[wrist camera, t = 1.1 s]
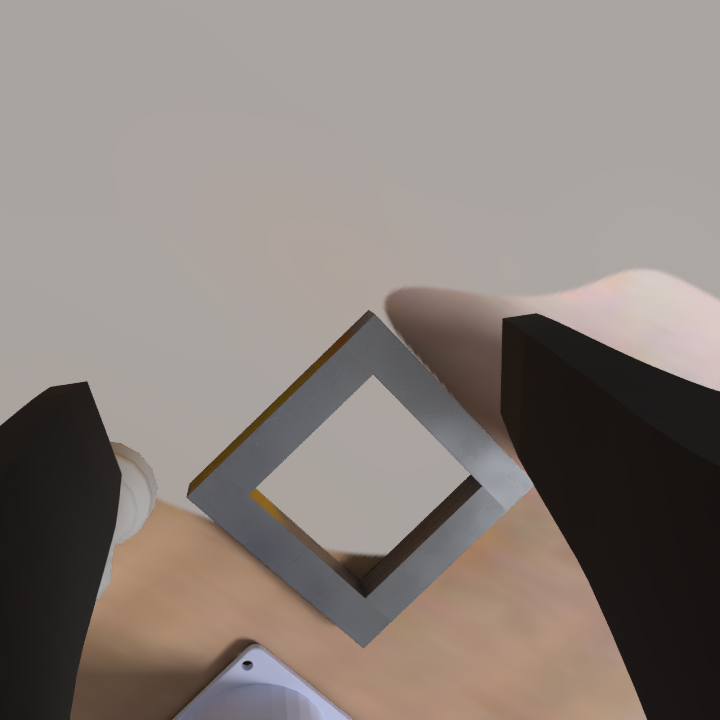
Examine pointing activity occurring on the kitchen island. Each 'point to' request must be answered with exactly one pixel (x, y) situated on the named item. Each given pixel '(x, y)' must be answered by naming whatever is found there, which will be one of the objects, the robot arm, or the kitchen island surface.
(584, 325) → the kitchen island surface
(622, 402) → the robot arm
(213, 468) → the hollow square block
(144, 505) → the rook chess piece
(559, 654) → the kitchen island surface
